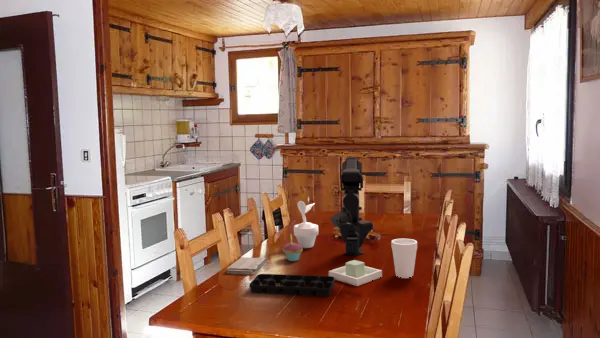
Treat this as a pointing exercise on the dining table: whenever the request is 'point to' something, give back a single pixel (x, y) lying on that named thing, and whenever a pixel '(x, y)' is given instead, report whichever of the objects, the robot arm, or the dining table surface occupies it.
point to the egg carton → (293, 284)
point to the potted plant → (305, 227)
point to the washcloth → (247, 266)
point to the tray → (341, 276)
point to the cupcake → (292, 250)
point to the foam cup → (404, 256)
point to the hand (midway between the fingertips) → (352, 244)
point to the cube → (355, 268)
